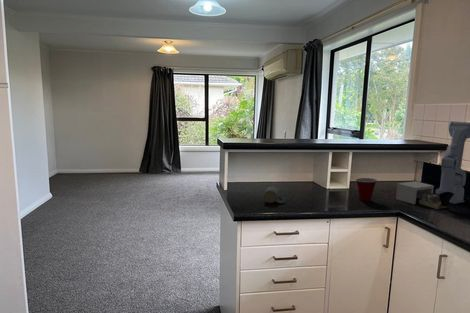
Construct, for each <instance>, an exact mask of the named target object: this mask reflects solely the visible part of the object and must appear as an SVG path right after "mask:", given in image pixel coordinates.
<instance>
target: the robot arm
mask: <svg viewBox="0 0 470 313" xmlns="http://www.w3.org/2000/svg"><path fill="white" fill-rule="evenodd" d="M448 133H449V135H450V137H451V142H450V144H449V145H447V147H446V150H445V153H444V156H443V157H442V158H441V163H440V166H441V168H440V169H441V174H440V175H441V176H440V185H439V188H437V189H435V190H434V191H435V192H434V193H435V195H439V201H440V202H441V205H442V206H444V207H446V208H448V206H449V203H451V204H459V203H464V202H465V200H464V198H465V197H464V196H465V188H464V186H465V185H466V182H467V173H466V171H465V170H463V169H462V162H463V157H464V156H463V155H464V152H465V151H464V150H465V143H466V142H467V139H470V122H465V121H450V122H449V124H448Z"/></svg>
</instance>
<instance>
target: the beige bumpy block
mask: <svg viewBox="0 0 470 313" xmlns="http://www.w3.org/2000/svg"><path fill="white" fill-rule="evenodd" d="M418 204H419V205H422V206H425V207H429V208H432V209H435V210H439V209H446V208H447V207H444V206H442V205H441V200H440V197H439V195H438V194H434V193H433V194H432V193H427V194H422V198H421V199H419V200H418Z"/></svg>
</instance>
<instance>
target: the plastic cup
mask: <svg viewBox="0 0 470 313" xmlns="http://www.w3.org/2000/svg"><path fill="white" fill-rule="evenodd" d="M355 181H356V183H357V192H358V198H359V201H362V202H365V203H367V202H371V200H372V197H373V194H374V191H375V186H376V182H378V180H377V179H376V178H372V177H371V178H369V177H367V178H366V177H361V178H360V177H359V178H356V179H355Z"/></svg>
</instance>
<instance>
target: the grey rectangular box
mask: <svg viewBox="0 0 470 313" xmlns="http://www.w3.org/2000/svg"><path fill="white" fill-rule="evenodd" d="M434 187H435V186H434V185H433V184H429V183H424V182H419V181H409V182H408V181H407V182H398V183H397V185H396V197H395V200H398V201H400V202H401V201H402V202H405V203H409V204H412V205H416V204H417V203H416V202H417V199H419V200H421V198H422V194H427V193H432V194H434Z"/></svg>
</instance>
